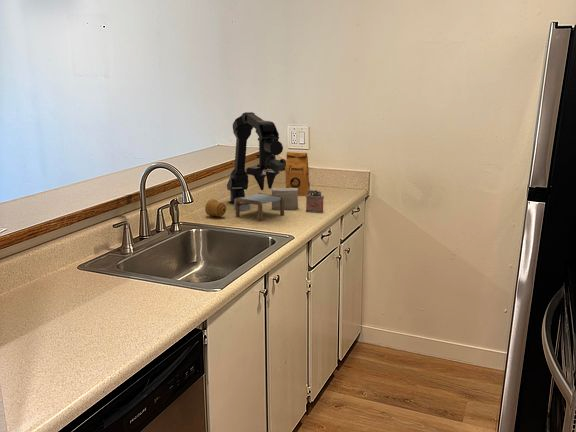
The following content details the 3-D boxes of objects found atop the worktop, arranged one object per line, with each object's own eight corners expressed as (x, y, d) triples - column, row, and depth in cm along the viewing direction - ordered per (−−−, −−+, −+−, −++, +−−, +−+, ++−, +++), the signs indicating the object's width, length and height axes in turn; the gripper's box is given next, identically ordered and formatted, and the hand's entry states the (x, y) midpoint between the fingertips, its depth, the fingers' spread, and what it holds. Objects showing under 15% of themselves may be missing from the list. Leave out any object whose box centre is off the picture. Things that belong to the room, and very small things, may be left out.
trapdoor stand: (260, 221, 236) (260, 202, 234) (235, 216, 244) (235, 198, 243) (284, 215, 247) (284, 197, 245) (259, 210, 256) (259, 192, 254)
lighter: (324, 212, 253) (324, 190, 251) (322, 213, 250) (322, 191, 248) (307, 210, 256) (307, 188, 253) (304, 212, 253) (305, 190, 250)
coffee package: (306, 198, 282) (306, 154, 277) (282, 196, 286) (282, 152, 281) (312, 194, 291) (312, 151, 286) (289, 193, 295) (289, 150, 290)
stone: (234, 209, 257) (234, 198, 256) (242, 207, 261) (242, 197, 260) (242, 211, 254) (242, 200, 253) (250, 209, 258) (250, 198, 257)
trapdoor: (261, 204, 236) (261, 201, 235) (240, 200, 243) (240, 197, 243) (280, 199, 244) (280, 197, 244) (259, 195, 252) (259, 193, 252)
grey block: (298, 205, 261) (297, 187, 256) (298, 209, 258) (297, 191, 253) (271, 205, 261) (271, 187, 256) (271, 209, 258) (270, 191, 253)
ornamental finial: (204, 217, 242) (203, 200, 240) (216, 214, 248) (216, 197, 246) (218, 220, 237) (217, 202, 236) (230, 217, 243) (230, 200, 241)
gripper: (265, 156, 225) (265, 195, 229) (295, 152, 239) (294, 188, 243) (244, 153, 232) (245, 191, 236) (275, 149, 246) (275, 185, 250)
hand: (266, 189), depth 241 cm, fingers open, 4 cm apart
